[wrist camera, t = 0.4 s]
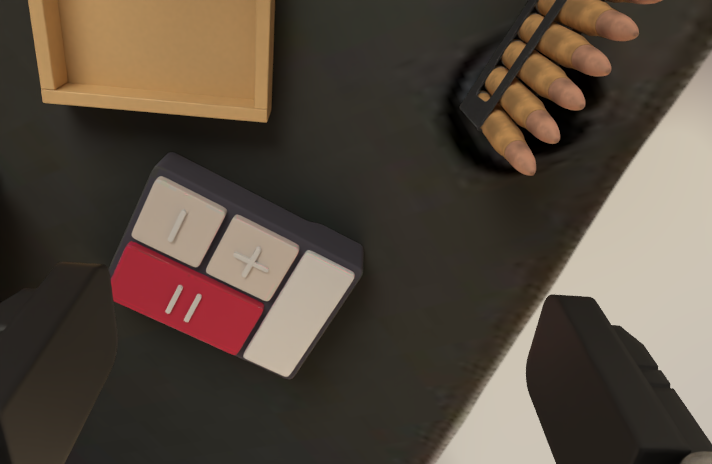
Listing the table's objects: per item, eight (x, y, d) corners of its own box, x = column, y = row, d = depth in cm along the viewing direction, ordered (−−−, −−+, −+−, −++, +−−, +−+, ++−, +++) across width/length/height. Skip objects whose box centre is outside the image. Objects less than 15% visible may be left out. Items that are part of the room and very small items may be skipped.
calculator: (150, 167, 35) (365, 277, 39) (171, 145, 39) (366, 246, 42) (91, 300, 40) (289, 389, 43) (116, 268, 44) (296, 352, 47)
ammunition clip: (563, -53, 34) (665, -41, 23) (588, -35, 34) (699, -15, 24) (458, 108, 38) (504, 180, 27) (482, 121, 38) (536, 198, 28)
